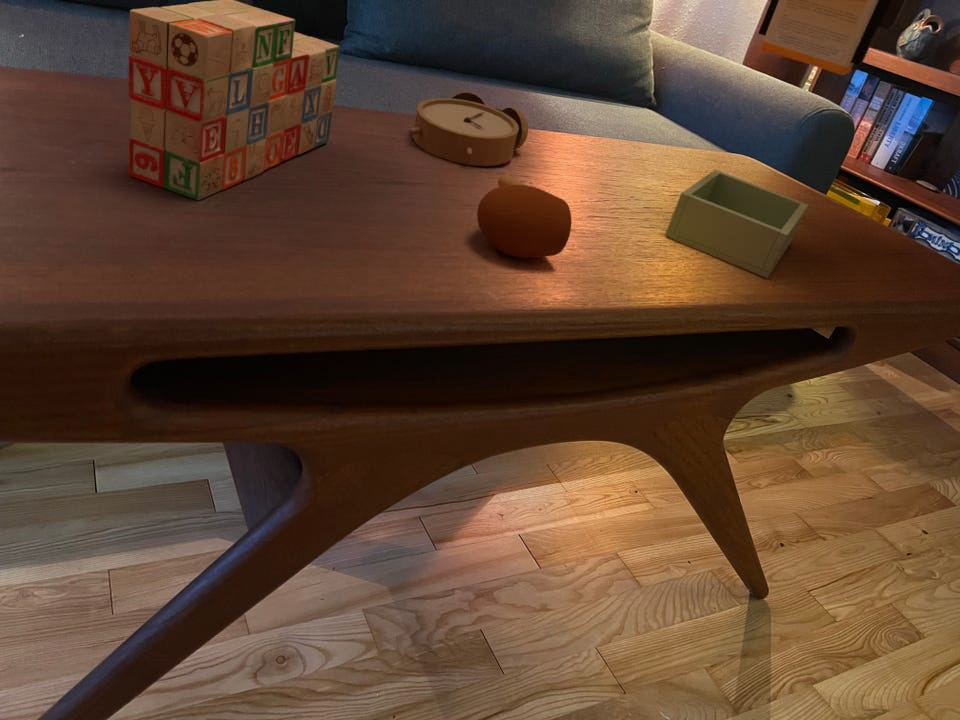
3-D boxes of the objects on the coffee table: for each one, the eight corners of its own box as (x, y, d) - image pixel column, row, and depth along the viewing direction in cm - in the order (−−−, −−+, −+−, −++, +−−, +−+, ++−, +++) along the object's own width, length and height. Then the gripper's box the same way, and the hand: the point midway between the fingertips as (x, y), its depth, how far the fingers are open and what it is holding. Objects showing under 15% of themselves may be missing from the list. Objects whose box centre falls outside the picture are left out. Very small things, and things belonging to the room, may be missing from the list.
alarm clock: (394, 111, 81) (466, 73, 92) (391, 154, 84) (460, 113, 95) (488, 148, 78) (551, 105, 89) (480, 191, 81) (542, 145, 92)
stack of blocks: (273, 123, 78) (286, -8, 71) (329, 143, 77) (347, 11, 71) (127, 176, 60) (127, 5, 53) (198, 202, 59) (207, 32, 53)
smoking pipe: (476, 261, 62) (493, 193, 59) (454, 178, 77) (467, 120, 74) (561, 275, 63) (582, 209, 60) (523, 191, 79) (538, 135, 76)
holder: (790, 244, 85) (809, 204, 83) (766, 278, 74) (787, 234, 72) (699, 207, 88) (715, 169, 86) (664, 236, 77) (681, 192, 75)
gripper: (801, -280, 63) (696, 16, 75) (1085, -230, 56) (921, 87, 68) (814, -255, 69) (715, 15, 81) (1073, -207, 62) (924, 80, 74)
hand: (809, 48), depth 74 cm, fingers closed on supplement box, 8 cm apart
